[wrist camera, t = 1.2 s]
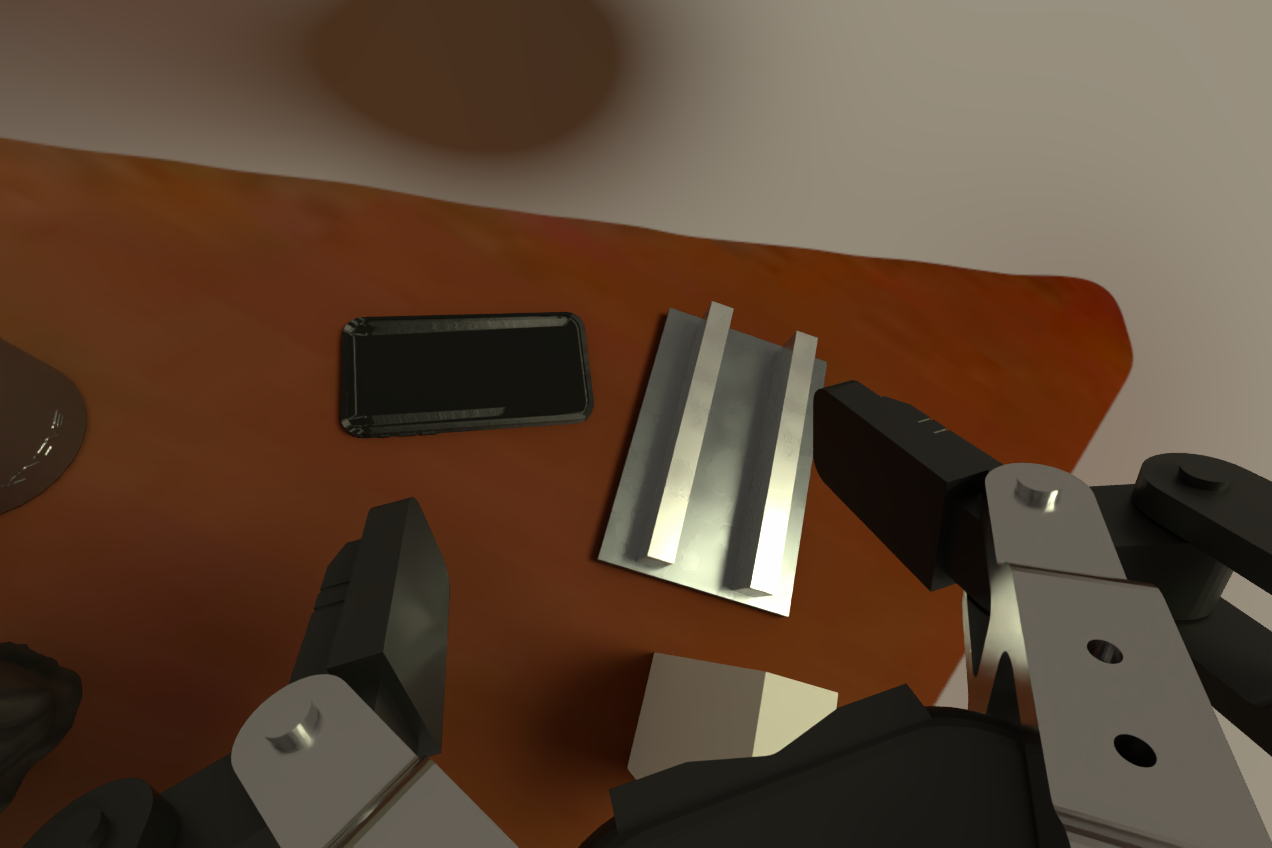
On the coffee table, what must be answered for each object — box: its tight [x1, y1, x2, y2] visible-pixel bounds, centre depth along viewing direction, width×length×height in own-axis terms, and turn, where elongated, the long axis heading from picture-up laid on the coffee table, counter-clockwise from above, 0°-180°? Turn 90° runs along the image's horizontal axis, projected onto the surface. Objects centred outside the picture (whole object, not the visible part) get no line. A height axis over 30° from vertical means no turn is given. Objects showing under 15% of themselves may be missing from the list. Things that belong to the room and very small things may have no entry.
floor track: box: [596, 301, 827, 617], centre depth 36 cm, size 12×18×4 cm, turn 165°
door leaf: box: [627, 652, 838, 780], centre depth 24 cm, size 3×6×16 cm, turn 165°
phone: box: [341, 312, 594, 438], centre depth 36 cm, size 8×1×15 cm
